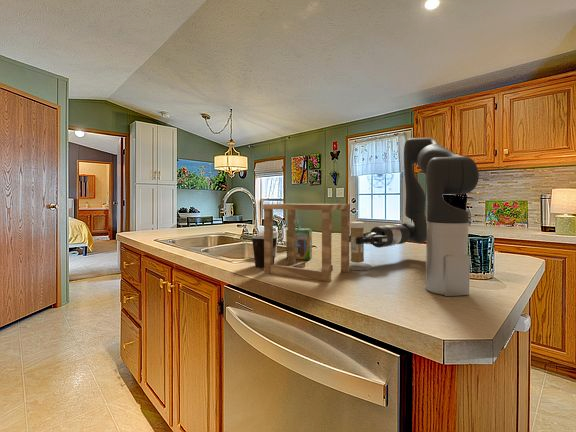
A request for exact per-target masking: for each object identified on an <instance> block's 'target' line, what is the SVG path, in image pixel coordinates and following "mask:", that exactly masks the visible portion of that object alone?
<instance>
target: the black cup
mask: <svg viewBox="0 0 576 432" xmlns="http://www.w3.org/2000/svg"><path fill="white" fill-rule="evenodd" d="M278 233H279V232H278V231H277V230H273V236H275V237H277V238H279V237H278V235H279V234H278ZM257 236H264V230H260V231H257ZM277 250H278V240H277V241H276V250H275V256H276V257H277Z"/></svg>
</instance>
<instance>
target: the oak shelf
mask: <svg viewBox="0 0 576 432" xmlns="http://www.w3.org/2000/svg"><path fill="white" fill-rule="evenodd" d="M350 209H351V203H267V204H266V203H263V204H262V210H263V231H264V268H263V269H264V270H263V272H264V273H266V274H273V273H274V274H275V275H282V276H289V277H295V278H304V279H308V280H317V281H322V282H326V283H329V282H331V281H332V271H333V270H334V269H333V264H332V236H333V235H332V232H333V231H332V224H333V223H332V221H333V220H332V218H333V217H332V213H333V211H338V210H341V212H340V217H341V218H340V221H341V223H340V228H341V229H340V230H341V231H340V272H343V273H348V272H349V271H350V270H349V263H350V242H349V236H350V223H351V221H350V217H351V214H350V213H351V211H350ZM274 210H287V229H288V260H287V265H280V264H274V265H273V231H274ZM296 210H297V211H303V210H304V211H321V268H318V269H312V268H311V269H310V268H305V267H306V262H305V261H300V262H297V263H296V260H295V228H296Z"/></svg>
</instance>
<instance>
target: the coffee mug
mask: <svg viewBox="0 0 576 432" xmlns="http://www.w3.org/2000/svg"><path fill="white" fill-rule="evenodd" d="M276 241H277V242H278V237H275V236H273V265H275V250H276ZM251 242H252V250H253V259H254V265H255V266H256V267H255V268H258V267H260V268H259V269H264V236H258V235H257V236H252V237H251Z"/></svg>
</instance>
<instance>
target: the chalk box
mask: <svg viewBox="0 0 576 432" xmlns="http://www.w3.org/2000/svg"><path fill="white" fill-rule="evenodd" d="M295 225H296V226H297V227H295V261H298V260H300V261H301V260H303V261H304V260H305V261H306V260H307V261H310V260H311V259H312V257H313V228H306V227H305V228H302V227H301V225H300V223H299V220H295ZM285 232H286V235H285V236H286V260H287V259H288V228H287V229H286V231H285Z"/></svg>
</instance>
